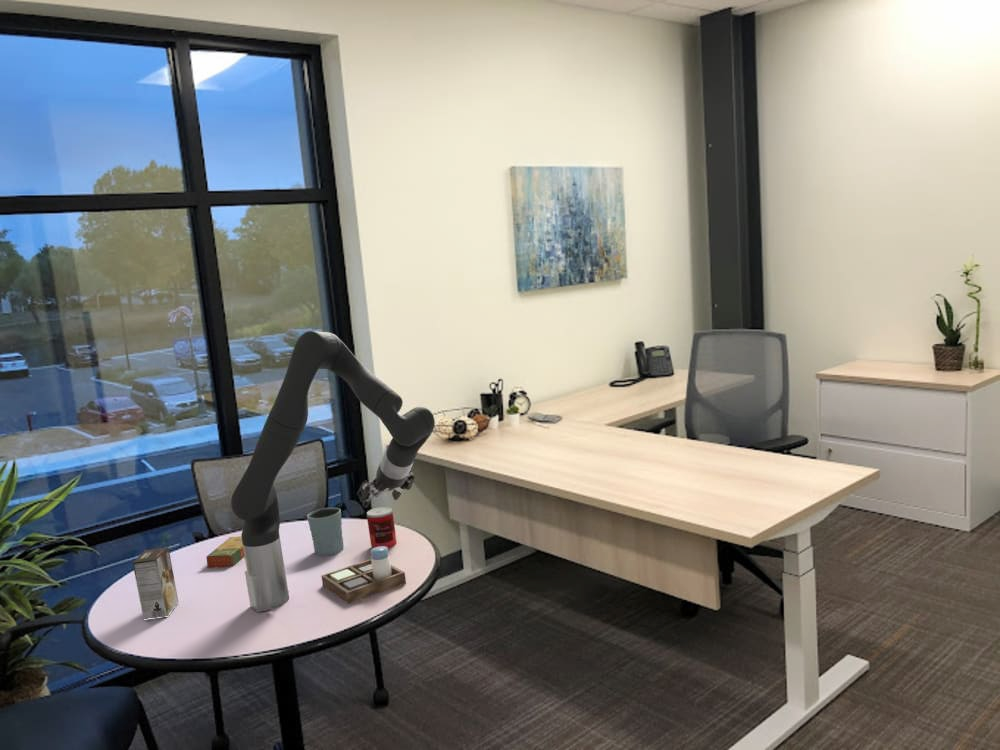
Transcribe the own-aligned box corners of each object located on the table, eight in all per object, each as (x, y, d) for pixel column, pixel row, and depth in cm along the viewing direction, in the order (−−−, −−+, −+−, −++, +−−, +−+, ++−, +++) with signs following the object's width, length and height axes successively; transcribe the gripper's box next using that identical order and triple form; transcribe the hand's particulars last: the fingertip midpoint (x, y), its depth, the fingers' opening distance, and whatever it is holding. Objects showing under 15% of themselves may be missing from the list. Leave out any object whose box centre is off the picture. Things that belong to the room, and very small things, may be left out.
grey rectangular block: (365, 580, 215) (364, 571, 215) (359, 577, 218) (358, 568, 218) (381, 574, 218) (380, 565, 218) (376, 571, 221) (374, 562, 221)
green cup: (319, 559, 237) (313, 520, 235) (307, 550, 246) (302, 513, 244) (351, 549, 242) (345, 511, 240) (339, 541, 251) (333, 504, 249)
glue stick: (379, 589, 208) (375, 554, 207) (371, 584, 212) (366, 549, 211) (396, 583, 211) (391, 548, 210) (387, 578, 215) (383, 544, 214)
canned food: (384, 539, 248) (379, 505, 246) (402, 543, 243) (397, 508, 241) (365, 548, 242) (360, 513, 240) (383, 552, 237) (378, 516, 235)
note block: (339, 590, 210) (337, 579, 210) (331, 585, 215) (330, 574, 214) (356, 584, 213) (355, 573, 213) (348, 579, 217) (347, 569, 217)
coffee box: (155, 606, 215) (144, 549, 213) (179, 603, 216) (169, 546, 213) (142, 621, 206) (131, 562, 204) (168, 618, 207) (157, 558, 204)
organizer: (349, 605, 202) (347, 592, 201) (323, 588, 215) (321, 575, 215) (406, 584, 211) (404, 572, 210) (378, 569, 224) (376, 557, 224)
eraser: (351, 598, 204) (349, 587, 204) (344, 594, 208) (343, 583, 207) (369, 592, 207) (367, 581, 207) (362, 588, 211) (360, 577, 210)
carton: (256, 547, 255) (254, 535, 254) (233, 568, 239) (231, 554, 238) (232, 549, 256) (230, 536, 255) (207, 569, 240) (205, 555, 240)
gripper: (414, 448, 204) (398, 483, 215) (363, 459, 196) (349, 495, 207) (426, 472, 201) (409, 506, 212) (375, 484, 193) (359, 519, 204)
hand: (379, 500), depth 210 cm, fingers open, 8 cm apart
